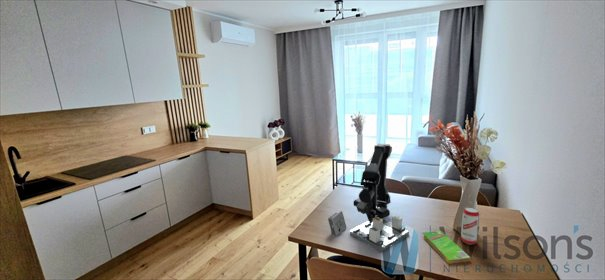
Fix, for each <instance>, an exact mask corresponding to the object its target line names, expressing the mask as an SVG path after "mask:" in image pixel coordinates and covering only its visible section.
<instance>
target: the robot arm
mask: <svg viewBox="0 0 605 280" xmlns="http://www.w3.org/2000/svg"><path fill="white" fill-rule="evenodd" d="M392 151H393V147H392V146H391V145H390V144H389V143H388V144H386V143H378V144H375V145H374V152H373V153H372V157H371V159H370V162H369V164H368V165H366V167H365V168H364V170H363V171H362V175H361V180H360V186H363V188H362V190H361V191H359V193H358V198H356V199H354V200H353V204H352V205H353V206H354V207H356V209H357V212H358V213H361V214H363V215H364V214H365V215H366V217H367V221H369V223H372V222H373V218H375V217H379V218H382V219H384V218H387V217H388V216H390V214H391V211H390V209H388V205H389V204H391V195H390V194H389V188H388V187H387V186H386V185H387V184H386V183H387V172H388V171H387V168H388V159H389V158H390V156H391V154H392Z"/></svg>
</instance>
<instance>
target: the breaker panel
mask: <svg viewBox="0 0 605 280" xmlns="http://www.w3.org/2000/svg"><path fill="white" fill-rule="evenodd" d="M378 218H379V217H378ZM380 219H382V220H383V230H382V231H380V241H379V242H377V243H375V242H373V241H371V240H370V239H369V229H370V228H371V227H373V222H372V223H369V220H367V221H366V222H363V223H362V224H360V225H357V226H356V227H354V228H352V229H350V230H349V234H350V236H353V237H354V238H355V239H357V240H359V241H361V242H363V243H365V244H366V245H368V246H370V247H371V248H373V249H375V250H376V251H378V252H380V253H383V252H384V251H386V250H388V249H389V248H391V247H392V246H394V245H396V244H397V243H398V242H400V241H401V239H402V240H403V239H405V238H406V237H408V236H410V231H409V230H407V229H406V227H405V226H402V228H400V229H399V230H398V229H396V228H394V227H392V222H390V221H387V220H385V219H384V218H380ZM404 237H405V238H404ZM393 244H394V245H393ZM391 245H392V246H391ZM390 246H391V247H390ZM388 247H389V248H388ZM387 248H388V249H387ZM385 249H386V250H385Z"/></svg>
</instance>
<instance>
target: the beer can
mask: <svg viewBox="0 0 605 280" xmlns="http://www.w3.org/2000/svg"><path fill="white" fill-rule="evenodd" d="M461 220H462V221H461V230H460V231H461V232H460V233H461V234H460V240H461V241H462V242H463V243H465V244H466V245H475V244H477V242H478V232H479V224H480V222H479V221H480V213H479V209H478V208H475V207H472V206H466V207H464V209H463V212H462V219H461Z"/></svg>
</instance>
